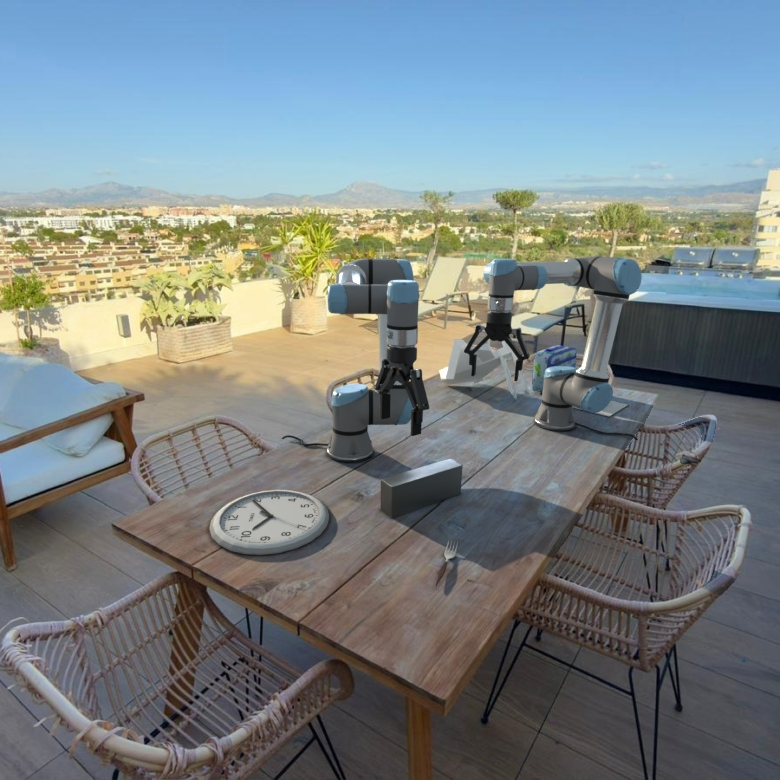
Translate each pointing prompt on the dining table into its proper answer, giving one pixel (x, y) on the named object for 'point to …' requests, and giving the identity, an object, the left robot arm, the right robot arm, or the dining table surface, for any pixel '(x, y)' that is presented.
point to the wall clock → (269, 522)
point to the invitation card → (611, 408)
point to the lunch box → (551, 363)
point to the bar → (420, 487)
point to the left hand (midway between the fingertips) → (399, 426)
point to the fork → (448, 555)
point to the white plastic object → (480, 365)
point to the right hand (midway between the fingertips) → (494, 377)
